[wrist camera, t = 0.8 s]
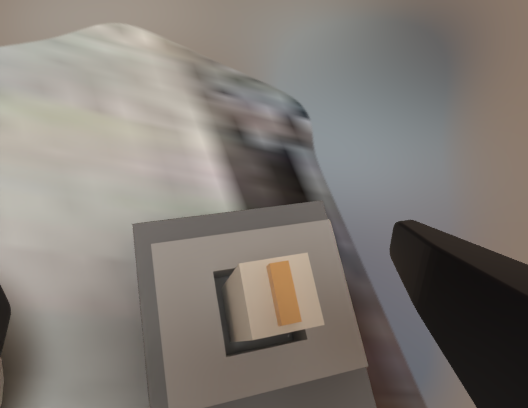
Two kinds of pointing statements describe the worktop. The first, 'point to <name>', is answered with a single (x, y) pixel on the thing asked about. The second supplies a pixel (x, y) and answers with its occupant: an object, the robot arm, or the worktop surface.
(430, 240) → the robot arm
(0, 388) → the saucepan
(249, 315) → the plug
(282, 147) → the worktop surface
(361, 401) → the jack panel
